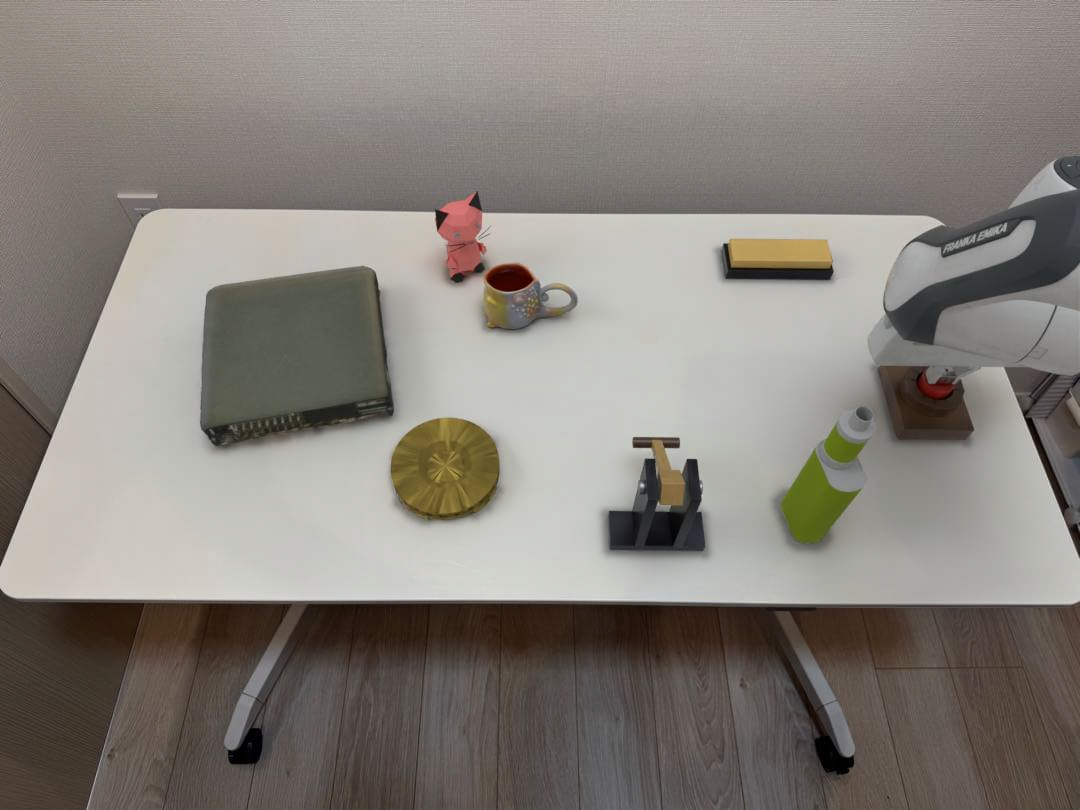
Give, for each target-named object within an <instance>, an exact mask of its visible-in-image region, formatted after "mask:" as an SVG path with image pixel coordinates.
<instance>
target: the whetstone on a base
mask: <svg viewBox="0 0 1080 810" xmlns="http://www.w3.org/2000/svg"><path fill="white" fill-rule="evenodd" d="M829 245H830V244H829V242H828V239H818V238H817V239H816V238H815V239H813V238H812V239H810V238H808V239H807V238H806V239H805V238H801V239H800V238H729V240H728V242H724V243H722V247H721V251H720V253H721V254H720V255H721V259H722V266H723V272H724V277H725V279H727V280H729V279H730V280H812V281H813V280H817V281H818V280H820V281H823V280H824V281H826V280H827V281H829V280H831V279H832V277H833V274H834V272H835V271H834V267H833V257H832V254H831V253H832V252H831V249H830V246H829Z"/></svg>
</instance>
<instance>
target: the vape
mask: <svg viewBox="0 0 1080 810" xmlns="http://www.w3.org/2000/svg"><path fill="white" fill-rule="evenodd" d="M874 417H875V415H874V412H873V410H872V409H871V408H869V407H867V406H865V405H861V406H860V405H859V406H858V407H856V408H853V409H847V410H845V411H843V412H842V413H841V414H840V416H839V418H837V421H836V423H835V425H833V428H832V429H831V431H830V432H829V433H828V435H827V437H825V438H824V439H822V440H820V441H819V442H817V444H816V446H815V447H814V449H813V451H812V452H811V454H810V455H809V457H808V459H807V460H806V462H805V463H804V465H803V467H802V468H801V470H800V472H798V474H797V476H796V478H795V479H794V481H793V482H792V484H791V486H790V487H789V490H788V491H787V493H785V495H784V497H783V498H782V500H781V502H780V509H781V512H782V515H783V517H784V519H785V522H786V524H787V528H788V529H789V532H790V535H791V537H792V539H794V540H795V541H796V542H798V543H801V544H806V545H807V544H809V545H811V544H815V543H818V542H820V541H822V539H823V538H824V537H825V535H826V534H827V533H828V532H829V531H830V529H831V528H832V527H833V526H834V525H835V524H836V522H837V521H838V520H839V518H840V517H841V516H842V514H843V513H844V512H845V511H846V509H847V508H848V507H849V506H850V505H851V503H852V502H853V501H854V500H855V498H856V497H857V496H858V495H859V493H860V492H861V491H862V490H863V489H864V487H865V486H866V485H867V482H868V476H867V474H866V471H865V470H864V468H863V465H862V463H861V460H860V459H859V454H860V453H861V452H862V450H863V449H864V448H865V446H866V445H867V443H869V441H870V440H871V439H872V437H873V436H874V434H875V433H876V423H875V421H874Z"/></svg>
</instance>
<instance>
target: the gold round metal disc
mask: <svg viewBox="0 0 1080 810" xmlns="http://www.w3.org/2000/svg"><path fill="white" fill-rule="evenodd" d="M389 471H390V477H391V481H392V485H393V487H394V490H395V492H396V494H397V496H398V498H399V499H400V501H401V504H402V505H403V506H404V507H405V508H406V509H407V510H408V511H409V512H410V513H412V514H414V515H415V516H417V517H419V518H422V519H423V520H426V521H429V519H435V520H451V519H456V518H460V517H463V516H466V515H468V514H470V513H472V512H473V513H474V514H476V513H477V512H479V511H481V510H482V509H483V508H484V507H485V506H487V504H488V503H489V502H490V501H491V500H492V498H493V497H494V495H495V494H496V491H497V485H498V482H499V478H500V474H501V473H500V472H501V465H500V455H499V451H498V447H497V445H496V443H495V441H494V440H493V438H492V437H491V436H490V435H489V433H488V432H487V431H486V430H485V429H483V428H482V427H481V426H480V425H478V424H476V423H474V422H472V421H469V420H467V419H463V418H459V417H437V418H433V419H429V420H427V421H424V422H421V423H419V424H418V425H416V426H414V427H413V428H412V429H410V430H409V431H407V433H406V434H405V435H403V437H402V438H401V439H400V441H398V443H397V445H396V447H395V448H394V451H393V453H392V456H391V460H390V470H389Z"/></svg>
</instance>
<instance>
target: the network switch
mask: <svg viewBox="0 0 1080 810" xmlns="http://www.w3.org/2000/svg"><path fill="white" fill-rule="evenodd" d="M379 287H380V285H379V281H378V275H377V272H376V270H374V269H373V268H371V267H369V266H364V265H359V266H349V267H343V268H335V269H327V270H320V271H319V270H318V271H312V272H305V273H303V272H302V273H298V274H289V275H282V276H273V277H268V278H262V279H261V278H259V279H254V280H252V279H251V280H246V281H245V280H244V281H240V282H233V283H232V282H231V283H225V284H219V285H216V286H213V287H212V288H211V289H209V290H207V293H206V294H205V305H204V313H203V314H204V315H203V316H204V317H203V333H202V339H203V340H202V352H201V354H202V355H201V360H202V361H201V377H200V378H201V388H200V389H201V392H200V406H199V407H200V418H199V426H200V430H201V431H202V432H203V433H204V434H205V436H207V438H208V440H209V441H210V442H211V444H213V445H214V446H215V447H221V446H223V445H229V444H235V443H240V442H246V441H251V440H256V439H260V438H268V437H274V436H275V437H276V436H281V435H287V434H292V433H294V432H299V431H303V430H308V429H314V430H315V429H319V428H321V427H322V428H323V427H331V426H337V425H340V424H346V423H352V422H357V421H359V420H364V419H370V418H375V417H379V416H382V415H389V416H390V417H392V416H393V415H394V412H395V408H394V399H393V392H392V385H391V378H390V375H389V367H388V354H387V353H388V352H387V346H386V339H385V332H384V327H383V326H384V325H383V316H382V315H383V314H382V308H381V299H380V296H381V294H382V293H381V290H380V289H379Z"/></svg>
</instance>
